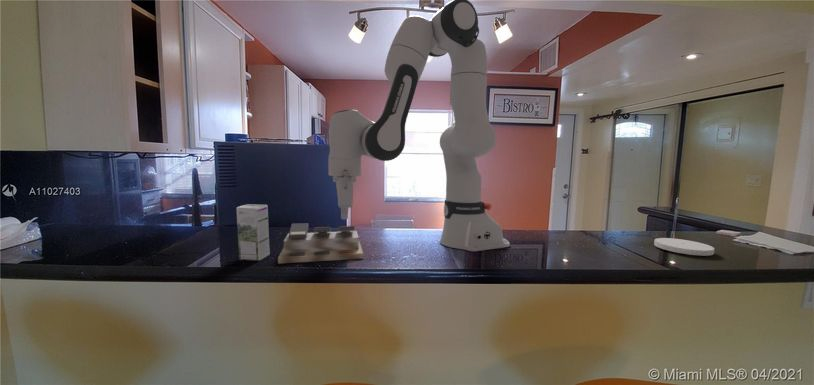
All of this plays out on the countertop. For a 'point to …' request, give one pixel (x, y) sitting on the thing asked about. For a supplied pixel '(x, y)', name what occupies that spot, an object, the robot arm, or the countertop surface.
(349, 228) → the switch
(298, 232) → the switch
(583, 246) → the countertop surface
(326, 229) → the switch middle
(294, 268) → the countertop surface
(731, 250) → the countertop surface
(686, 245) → the plastic lid
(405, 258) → the countertop surface
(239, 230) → the syrup box
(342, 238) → the switch unit
